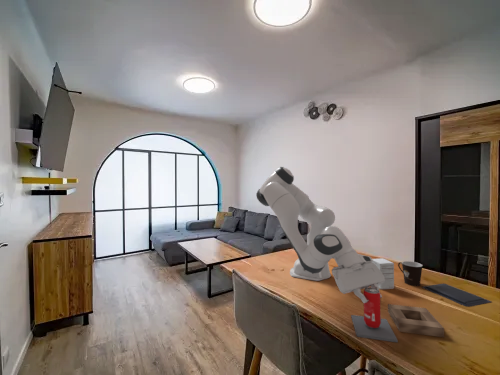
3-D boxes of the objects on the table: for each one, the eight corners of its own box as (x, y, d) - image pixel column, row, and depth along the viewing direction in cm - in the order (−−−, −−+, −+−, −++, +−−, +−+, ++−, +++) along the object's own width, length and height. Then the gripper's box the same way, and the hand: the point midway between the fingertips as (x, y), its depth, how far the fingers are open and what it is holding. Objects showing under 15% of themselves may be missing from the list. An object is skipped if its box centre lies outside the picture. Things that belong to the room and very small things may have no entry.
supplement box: (370, 283, 120) (370, 258, 119) (384, 282, 120) (384, 258, 120) (380, 289, 112) (380, 263, 112) (394, 288, 113) (394, 262, 113)
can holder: (399, 331, 80) (399, 322, 80) (387, 311, 93) (387, 304, 93) (444, 337, 77) (444, 328, 77) (425, 315, 89) (425, 308, 89)
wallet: (420, 284, 115) (444, 281, 118) (420, 288, 115) (444, 284, 118) (466, 304, 95) (493, 299, 99) (466, 309, 95) (493, 304, 99)
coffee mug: (426, 287, 113) (426, 267, 113) (406, 286, 115) (406, 266, 115) (414, 278, 125) (414, 259, 125) (396, 277, 127) (396, 259, 126)
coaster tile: (356, 336, 78) (356, 334, 78) (351, 316, 90) (351, 314, 90) (397, 342, 75) (397, 340, 75) (386, 321, 86) (386, 319, 86)
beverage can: (361, 320, 84) (360, 287, 84) (374, 319, 85) (374, 286, 85) (369, 329, 79) (369, 293, 79) (384, 328, 80) (383, 293, 80)
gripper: (334, 263, 84) (356, 303, 75) (373, 256, 92) (398, 290, 84) (325, 272, 88) (346, 310, 79) (363, 264, 97) (386, 297, 88)
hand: (373, 300), depth 82 cm, fingers closed on beverage can, 5 cm apart
